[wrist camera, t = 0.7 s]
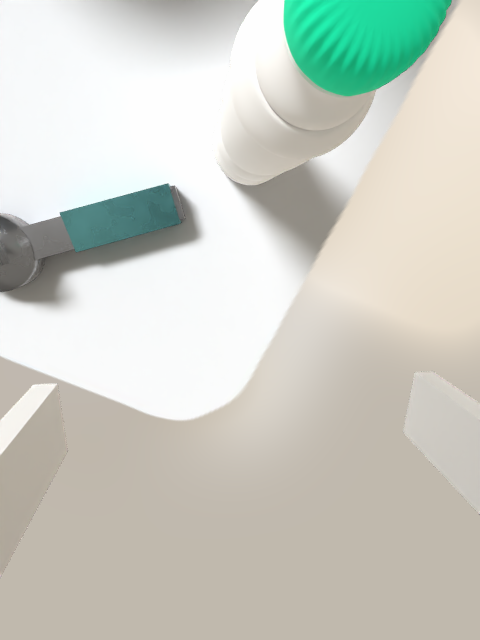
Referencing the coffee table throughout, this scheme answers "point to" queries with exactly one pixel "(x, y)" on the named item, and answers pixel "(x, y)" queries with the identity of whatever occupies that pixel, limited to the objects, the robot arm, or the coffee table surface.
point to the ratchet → (82, 230)
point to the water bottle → (312, 77)
